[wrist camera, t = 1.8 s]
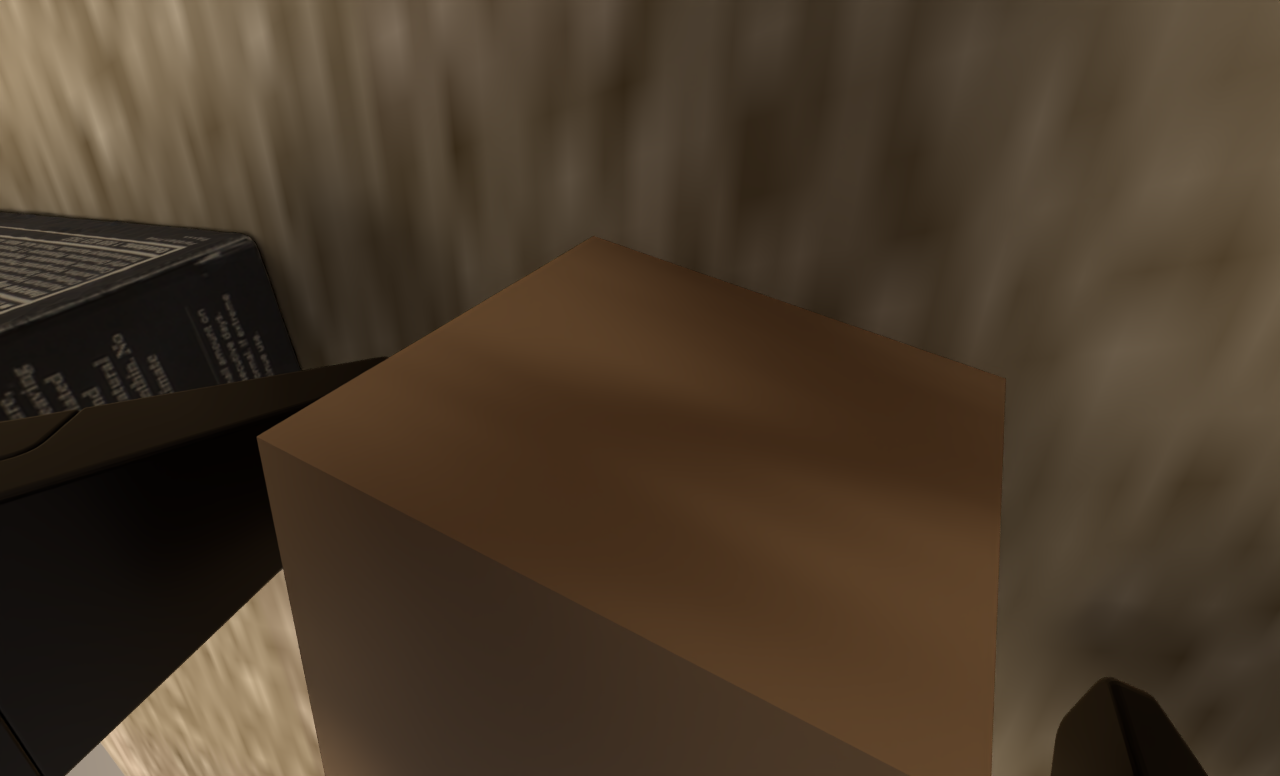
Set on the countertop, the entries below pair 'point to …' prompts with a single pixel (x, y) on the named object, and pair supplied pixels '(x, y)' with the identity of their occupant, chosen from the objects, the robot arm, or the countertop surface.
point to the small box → (129, 313)
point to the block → (646, 540)
